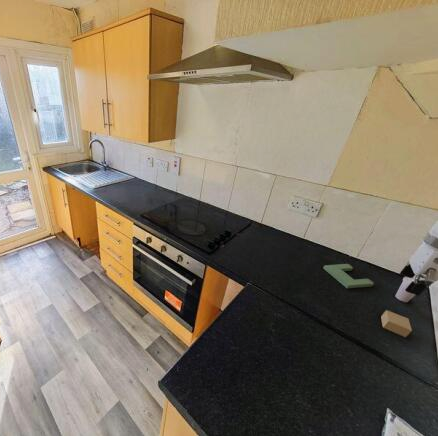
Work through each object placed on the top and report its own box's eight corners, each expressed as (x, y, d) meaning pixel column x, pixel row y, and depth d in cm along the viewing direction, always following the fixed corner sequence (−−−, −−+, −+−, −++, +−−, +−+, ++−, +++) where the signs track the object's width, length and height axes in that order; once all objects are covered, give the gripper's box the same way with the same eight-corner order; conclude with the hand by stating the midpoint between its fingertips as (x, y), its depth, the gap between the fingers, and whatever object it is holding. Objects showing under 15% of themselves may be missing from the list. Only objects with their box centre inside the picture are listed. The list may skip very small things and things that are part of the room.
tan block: (380, 316, 87) (386, 309, 85) (402, 325, 83) (408, 318, 81) (382, 328, 82) (388, 320, 80) (405, 337, 79) (412, 330, 77)
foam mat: (346, 266, 112) (348, 263, 111) (372, 286, 100) (374, 283, 99) (322, 268, 110) (324, 265, 109) (346, 288, 99) (348, 285, 98)
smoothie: (408, 297, 96) (430, 272, 89) (414, 307, 91) (437, 282, 84) (388, 290, 99) (408, 266, 92) (392, 300, 94) (413, 275, 87)
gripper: (474, 262, 60) (431, 306, 68) (451, 235, 72) (418, 275, 80) (433, 251, 63) (397, 294, 72) (418, 227, 76) (389, 266, 84)
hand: (408, 284), depth 76 cm, fingers open, 9 cm apart
